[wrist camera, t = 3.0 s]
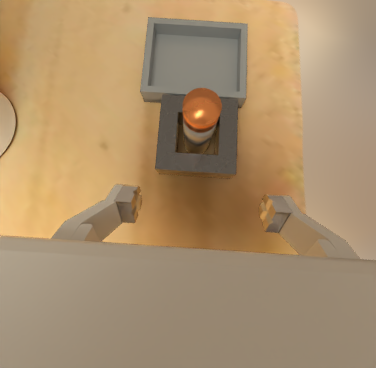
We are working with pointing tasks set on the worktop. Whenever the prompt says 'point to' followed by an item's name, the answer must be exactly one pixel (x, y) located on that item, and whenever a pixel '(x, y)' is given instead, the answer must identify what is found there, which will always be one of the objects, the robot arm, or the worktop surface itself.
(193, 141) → the pin
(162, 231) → the worktop surface
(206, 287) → the robot arm
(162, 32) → the tray
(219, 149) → the receiver
